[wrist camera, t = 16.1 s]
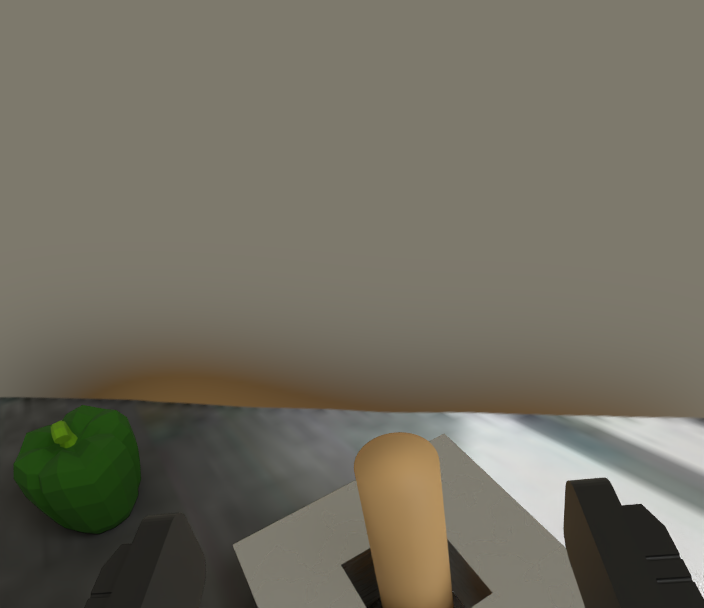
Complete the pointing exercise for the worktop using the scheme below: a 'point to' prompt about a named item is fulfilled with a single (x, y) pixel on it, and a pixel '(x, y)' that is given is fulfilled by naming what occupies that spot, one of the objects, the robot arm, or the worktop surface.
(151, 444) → the worktop surface
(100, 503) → the bell pepper
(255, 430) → the worktop surface
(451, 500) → the grey flat block
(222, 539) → the worktop surface
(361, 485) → the pin
